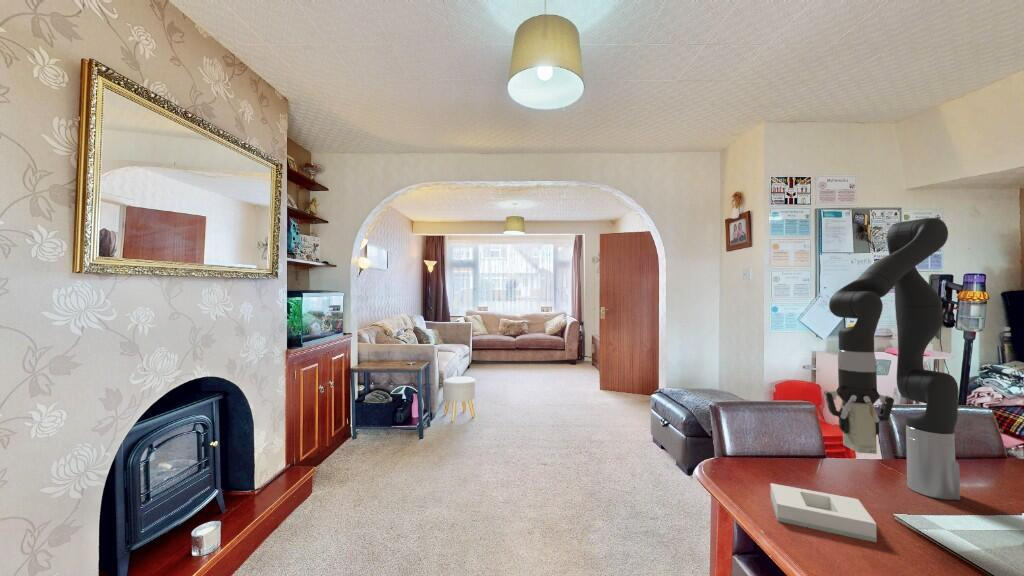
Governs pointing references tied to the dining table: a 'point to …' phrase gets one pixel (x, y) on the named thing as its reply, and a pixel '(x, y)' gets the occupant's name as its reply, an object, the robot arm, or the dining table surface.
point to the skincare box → (861, 428)
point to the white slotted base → (822, 512)
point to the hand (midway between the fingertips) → (858, 433)
